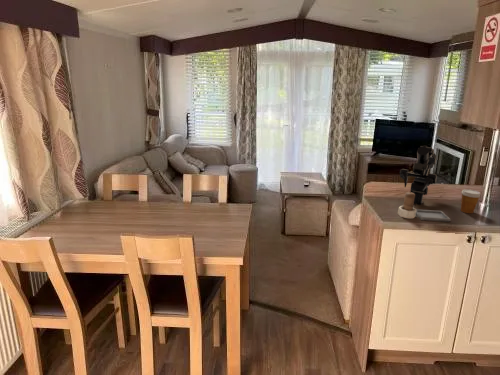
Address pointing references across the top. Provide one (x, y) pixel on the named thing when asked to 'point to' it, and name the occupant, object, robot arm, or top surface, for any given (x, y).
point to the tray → (432, 215)
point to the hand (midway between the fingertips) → (413, 188)
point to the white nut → (406, 213)
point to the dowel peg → (408, 201)
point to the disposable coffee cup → (469, 200)
